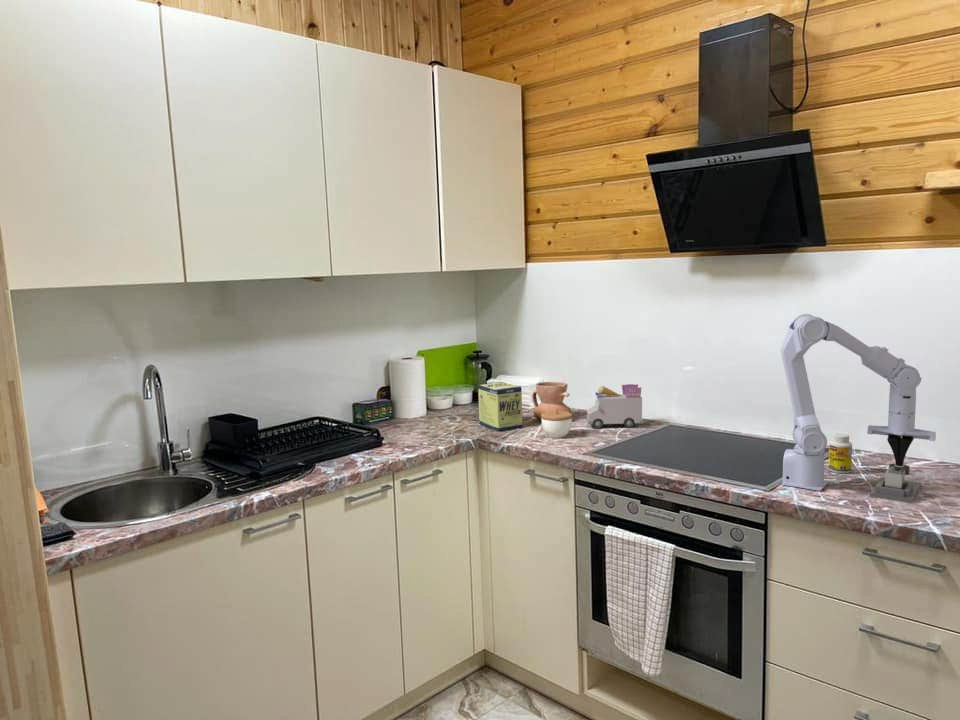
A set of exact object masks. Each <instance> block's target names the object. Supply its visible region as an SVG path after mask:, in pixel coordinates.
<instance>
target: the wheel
mask: <svg viewBox="0 0 960 720" xmlns="http://www.w3.org/2000/svg"><path fill="white" fill-rule="evenodd" d="M890 467H897V468H902V470H905V476H906V475H909V474H910V469H911V468H910V466H909V465H907V464H904V463H903V466H897V465H896V463H890V464H888V468H890Z"/></svg>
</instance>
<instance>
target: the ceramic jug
mask: <svg viewBox="0 0 960 720" xmlns="http://www.w3.org/2000/svg"><path fill="white" fill-rule="evenodd" d="M535 388H536V389H535V390H533V392H532V395H531V399H532V403H533V405H534V409H533V416H534V417H535V418H536V419H537V420H539V421H541V414H542V413H545V412H551V411H555V409H557V410H558V411H564V412H569V413H571V414H572V409H571V408H570V407H569V406H568V405H567V404H565V403H564V399H565V398H569V396H571V394H570V393H569V392H567V390H568V383H567V382H562V381H560V382H559V381H540V382H537V383H535ZM537 395H538V398H539V401H540V404H539V403H538V398H537Z"/></svg>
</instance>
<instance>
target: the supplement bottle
mask: <svg viewBox="0 0 960 720" xmlns="http://www.w3.org/2000/svg"><path fill="white" fill-rule="evenodd" d="M828 445H829V447H828V448H829V449H828V470H829V471H830V472H832V473H834V474H835V473H836V474H849V473H851V471H852V458H853V443H852V442H850V435H849V434H846V433H833V434H832V440H830V441H829V444H828Z"/></svg>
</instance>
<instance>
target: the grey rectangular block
mask: <svg viewBox="0 0 960 720" xmlns="http://www.w3.org/2000/svg"><path fill="white" fill-rule="evenodd" d="M884 476H885V487H888V488H895V489H901V490H904V480H905V476H906V475H905V470H902V468H897V467H890V468H889V467H888V468H887V469H886V471H885V473H884Z"/></svg>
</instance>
